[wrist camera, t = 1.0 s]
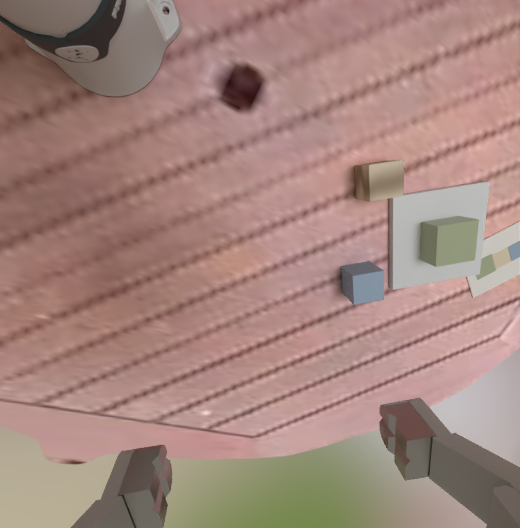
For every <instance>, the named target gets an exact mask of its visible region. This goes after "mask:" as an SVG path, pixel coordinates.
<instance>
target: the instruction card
mask: <svg viewBox="0 0 520 528" xmlns="http://www.w3.org/2000/svg"><path fill="white" fill-rule="evenodd" d="M519 274H520V221H518V222H517V223H515V224H513V225H511V226H509V227H507V228H505V229H503V230H501V231H499V232H497V233H495V234H494V235H492V236H490V237H488V238H486V239H484V240H483V249H482V259H481V268H480V274H479V275H473V276H468V277H466V278H467V281H468V284H469V287H470V291H471V294H472V297H473V298H474V297H476V296H478V295H480V294H482V293H484V292H486V291H488V290H490V289H492V288H494V287H496V286H497V285H499V284H501V283H503V282H505V281H507V280H509V279H511V278H513V277H515V276H517V275H519Z"/></svg>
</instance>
